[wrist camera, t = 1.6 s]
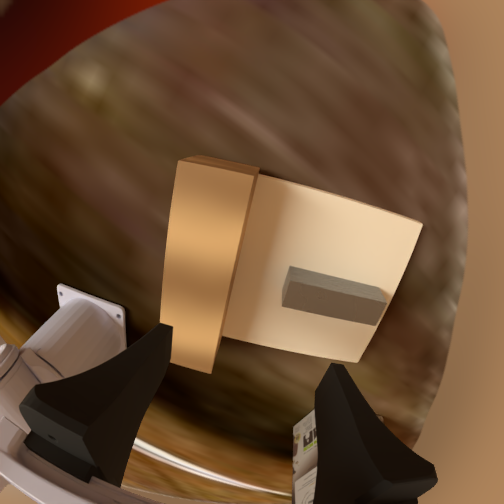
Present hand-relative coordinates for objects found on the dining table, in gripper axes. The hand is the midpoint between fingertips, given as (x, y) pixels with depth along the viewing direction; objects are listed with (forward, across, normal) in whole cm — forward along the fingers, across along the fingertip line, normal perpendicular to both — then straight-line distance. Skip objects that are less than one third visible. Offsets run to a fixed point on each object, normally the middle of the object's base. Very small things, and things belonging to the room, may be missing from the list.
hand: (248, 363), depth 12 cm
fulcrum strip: (+10, -5, 0) cm, 11 cm away
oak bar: (+9, +4, 0) cm, 10 cm away
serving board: (+10, -2, 0) cm, 10 cm away
